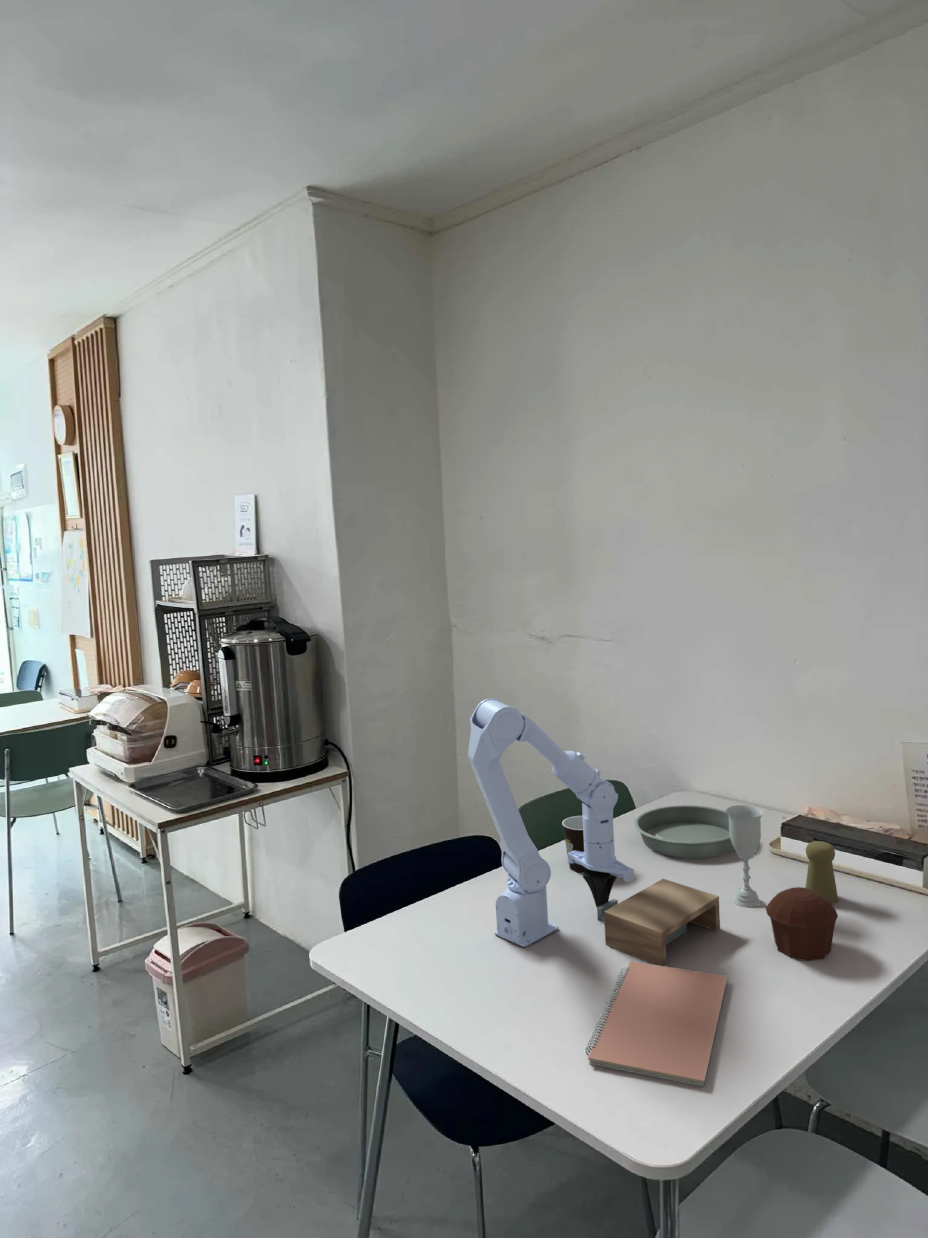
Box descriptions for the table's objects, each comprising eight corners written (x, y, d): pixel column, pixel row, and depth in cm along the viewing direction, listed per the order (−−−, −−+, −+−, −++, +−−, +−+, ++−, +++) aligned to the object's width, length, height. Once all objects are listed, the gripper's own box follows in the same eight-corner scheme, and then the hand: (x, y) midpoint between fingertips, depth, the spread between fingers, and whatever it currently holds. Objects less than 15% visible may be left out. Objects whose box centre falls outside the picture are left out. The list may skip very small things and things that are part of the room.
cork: (832, 891, 166) (831, 837, 165) (842, 905, 160) (841, 849, 159) (800, 891, 167) (799, 838, 166) (809, 905, 161) (808, 850, 160)
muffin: (802, 926, 153) (800, 873, 152) (853, 952, 143) (852, 896, 142) (752, 943, 148) (750, 889, 147) (801, 972, 138) (800, 913, 137)
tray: (658, 949, 148) (657, 930, 148) (591, 923, 159) (590, 905, 159) (686, 931, 154) (686, 912, 154) (620, 907, 165) (619, 889, 165)
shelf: (662, 968, 142) (660, 932, 142) (605, 944, 151) (604, 911, 151) (719, 928, 154) (718, 896, 154) (664, 909, 163) (663, 878, 162)
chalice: (768, 910, 160) (765, 818, 158) (730, 909, 161) (727, 818, 159) (762, 893, 167) (760, 805, 165) (726, 892, 169) (723, 805, 167)
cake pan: (683, 814, 214) (683, 797, 213) (767, 841, 194) (766, 822, 193) (613, 840, 200) (612, 822, 200) (695, 871, 180) (694, 851, 179)
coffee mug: (606, 873, 181) (604, 828, 180) (566, 876, 181) (564, 831, 180) (599, 852, 193) (597, 810, 192) (561, 854, 193) (559, 812, 192)
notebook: (624, 970, 144) (623, 959, 143) (727, 985, 137) (727, 974, 137) (581, 1068, 119) (580, 1054, 119) (704, 1093, 112) (704, 1079, 112)
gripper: (642, 841, 159) (645, 910, 160) (582, 824, 169) (586, 889, 171) (619, 853, 154) (622, 924, 156) (559, 834, 165) (563, 901, 166)
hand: (602, 906), depth 163 cm, fingers closed
